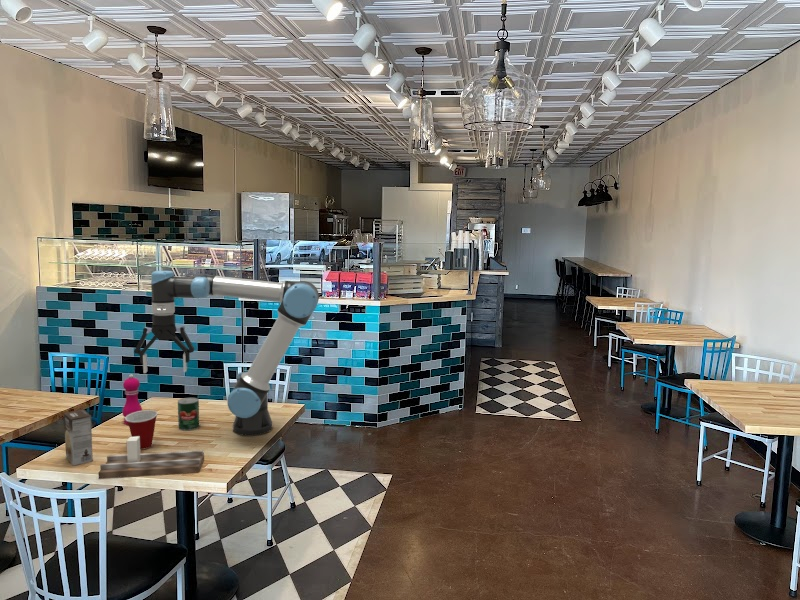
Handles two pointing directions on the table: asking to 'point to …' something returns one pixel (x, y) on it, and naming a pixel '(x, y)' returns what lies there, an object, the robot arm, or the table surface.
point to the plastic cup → (142, 426)
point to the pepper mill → (131, 396)
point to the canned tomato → (188, 413)
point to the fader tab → (133, 449)
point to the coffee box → (78, 437)
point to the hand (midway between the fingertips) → (165, 371)
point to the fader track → (152, 464)
